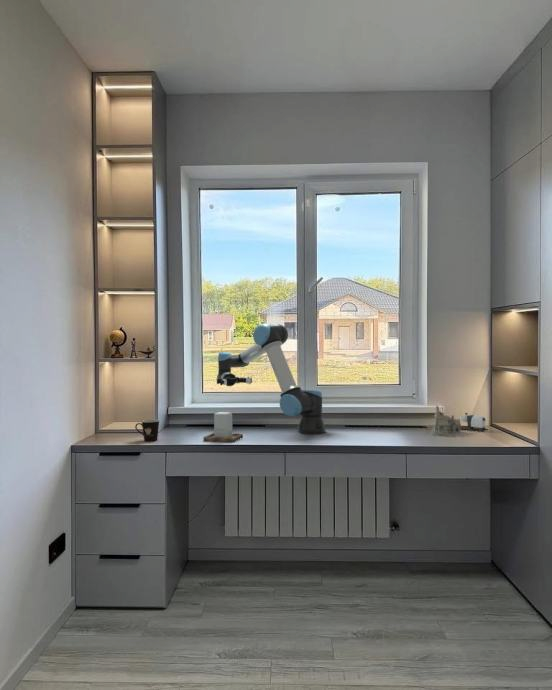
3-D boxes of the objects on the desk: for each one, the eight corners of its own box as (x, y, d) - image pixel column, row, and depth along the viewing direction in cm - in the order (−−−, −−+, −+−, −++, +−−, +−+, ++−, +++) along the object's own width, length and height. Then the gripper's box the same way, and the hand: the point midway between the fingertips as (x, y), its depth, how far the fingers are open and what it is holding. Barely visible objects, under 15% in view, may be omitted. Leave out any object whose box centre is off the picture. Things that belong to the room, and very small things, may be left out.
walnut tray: (242, 437, 275) (242, 433, 275) (233, 442, 262) (233, 438, 262) (214, 436, 279) (214, 432, 279) (203, 441, 266) (203, 437, 266)
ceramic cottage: (430, 435, 278) (432, 407, 279) (431, 431, 294) (433, 404, 294) (462, 438, 274) (464, 410, 274) (460, 434, 289) (462, 407, 290)
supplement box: (232, 436, 273) (232, 412, 273) (227, 439, 266) (226, 414, 266) (219, 435, 275) (219, 411, 275) (213, 438, 268) (213, 413, 268)
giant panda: (487, 431, 291) (487, 413, 291) (483, 432, 287) (483, 414, 287) (461, 428, 301) (461, 411, 301) (457, 429, 297) (457, 412, 297)
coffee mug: (163, 440, 269) (162, 420, 269) (150, 442, 262) (150, 422, 262) (146, 437, 276) (146, 418, 275) (134, 440, 268) (134, 420, 268)
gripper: (249, 385, 313) (260, 387, 293) (207, 386, 305) (215, 389, 285) (249, 372, 313) (259, 374, 293) (207, 373, 305) (215, 375, 285)
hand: (238, 382), depth 289 cm, fingers open, 13 cm apart
